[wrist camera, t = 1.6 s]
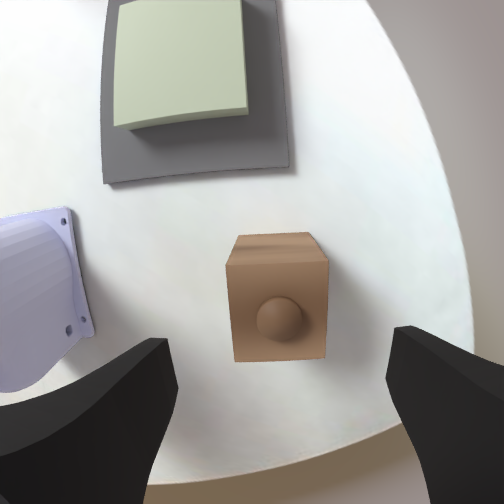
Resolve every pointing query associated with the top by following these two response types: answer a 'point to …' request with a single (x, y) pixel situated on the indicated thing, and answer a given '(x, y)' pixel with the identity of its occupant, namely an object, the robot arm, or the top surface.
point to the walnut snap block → (277, 297)
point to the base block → (179, 62)
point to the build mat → (203, 130)
